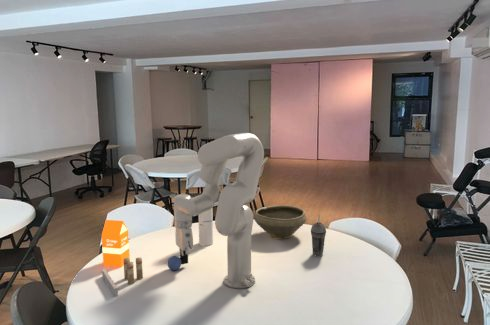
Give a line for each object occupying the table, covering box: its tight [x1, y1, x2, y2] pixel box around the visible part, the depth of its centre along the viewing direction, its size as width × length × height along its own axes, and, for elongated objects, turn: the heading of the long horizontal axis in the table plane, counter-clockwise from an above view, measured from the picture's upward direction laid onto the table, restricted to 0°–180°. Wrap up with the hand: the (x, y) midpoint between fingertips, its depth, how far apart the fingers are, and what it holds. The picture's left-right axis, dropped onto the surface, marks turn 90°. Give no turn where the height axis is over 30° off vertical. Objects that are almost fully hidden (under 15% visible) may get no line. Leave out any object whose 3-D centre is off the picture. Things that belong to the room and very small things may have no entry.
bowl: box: [253, 204, 307, 240], centre depth 210 cm, size 28×28×14 cm
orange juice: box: [101, 219, 130, 268], centre depth 175 cm, size 8×9×20 cm
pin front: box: [135, 257, 144, 280], centre depth 160 cm, size 2×2×8 cm
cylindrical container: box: [197, 207, 214, 247], centre depth 198 cm, size 7×7×25 cm
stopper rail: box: [101, 268, 119, 297], centre depth 154 cm, size 20×1×3 cm, turn 32°
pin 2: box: [127, 261, 135, 285], centre depth 156 cm, size 2×2×8 cm
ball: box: [167, 255, 182, 271], centre depth 168 cm, size 6×6×6 cm
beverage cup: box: [310, 213, 327, 257], centre depth 183 cm, size 7×7×20 cm
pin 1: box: [123, 258, 131, 281], centre depth 160 cm, size 2×2×8 cm
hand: (184, 263), depth 171 cm, fingers closed
